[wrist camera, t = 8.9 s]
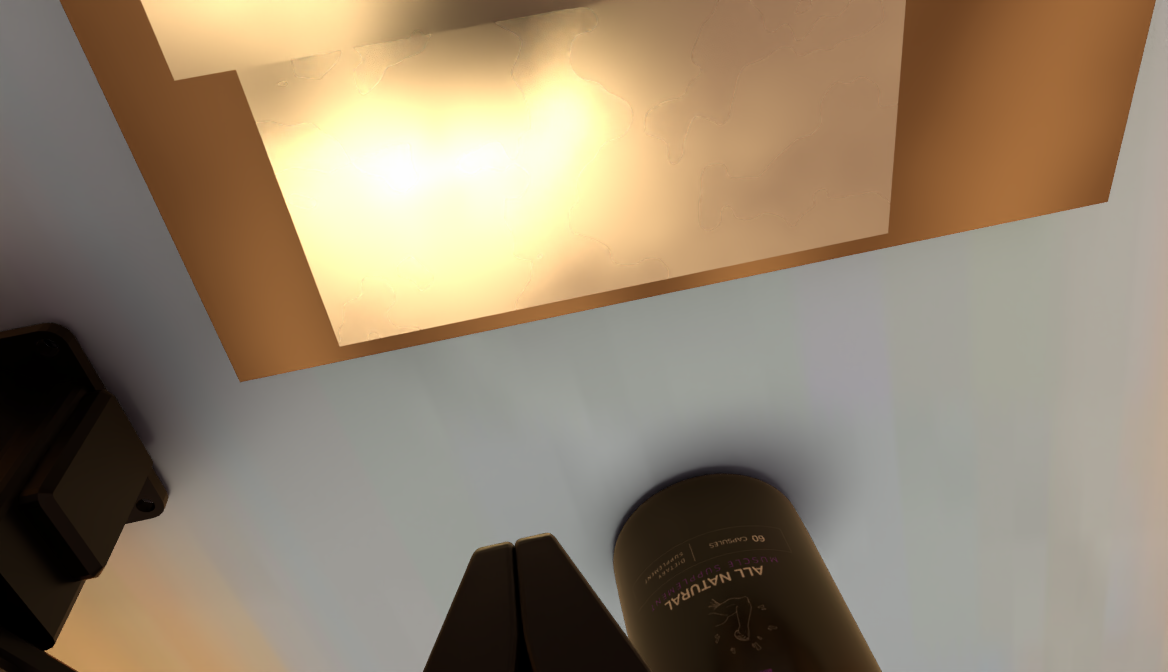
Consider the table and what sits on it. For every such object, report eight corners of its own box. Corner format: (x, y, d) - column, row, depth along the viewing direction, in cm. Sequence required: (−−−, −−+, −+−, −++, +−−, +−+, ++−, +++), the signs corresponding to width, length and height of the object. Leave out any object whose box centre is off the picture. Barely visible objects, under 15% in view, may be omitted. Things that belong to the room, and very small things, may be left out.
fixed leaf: (343, 326, 20) (322, 433, 16) (159, -181, 14) (58, -196, 10) (869, 218, 21) (965, 295, 17) (901, -301, 15) (1058, -355, 11)
